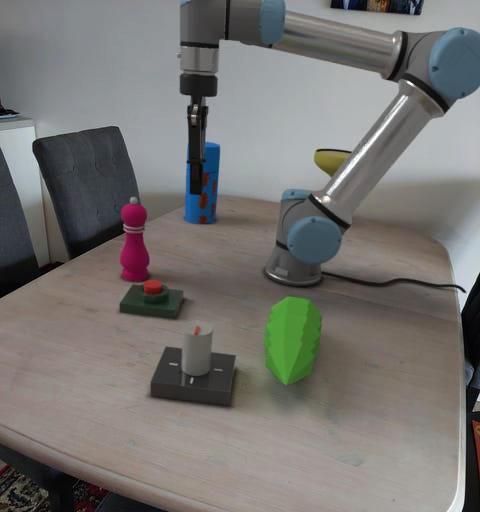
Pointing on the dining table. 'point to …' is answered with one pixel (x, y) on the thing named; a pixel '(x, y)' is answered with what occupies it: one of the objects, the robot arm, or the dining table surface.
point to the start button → (152, 287)
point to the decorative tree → (292, 339)
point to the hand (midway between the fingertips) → (196, 193)
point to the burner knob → (196, 347)
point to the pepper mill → (134, 242)
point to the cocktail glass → (330, 159)
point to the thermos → (204, 188)
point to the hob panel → (193, 379)
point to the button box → (152, 302)
